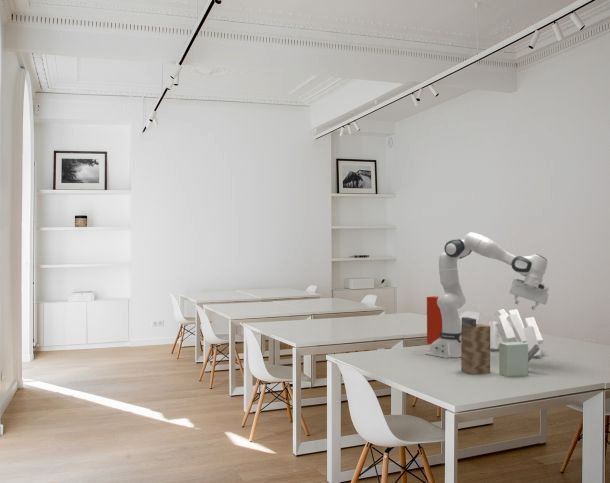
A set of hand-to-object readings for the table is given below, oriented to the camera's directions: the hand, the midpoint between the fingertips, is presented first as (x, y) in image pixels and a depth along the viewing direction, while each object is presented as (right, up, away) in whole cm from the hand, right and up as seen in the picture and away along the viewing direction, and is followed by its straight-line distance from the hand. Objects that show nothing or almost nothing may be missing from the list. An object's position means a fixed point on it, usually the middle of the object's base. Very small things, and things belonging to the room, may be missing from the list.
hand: (524, 306), depth 323 cm
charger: (-1, -26, -10) cm, 28 cm away
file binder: (-31, -34, +69) cm, 83 cm away
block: (-12, -34, -17) cm, 40 cm away
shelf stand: (-30, -34, -11) cm, 47 cm away
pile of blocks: (+10, -34, +42) cm, 55 cm away
